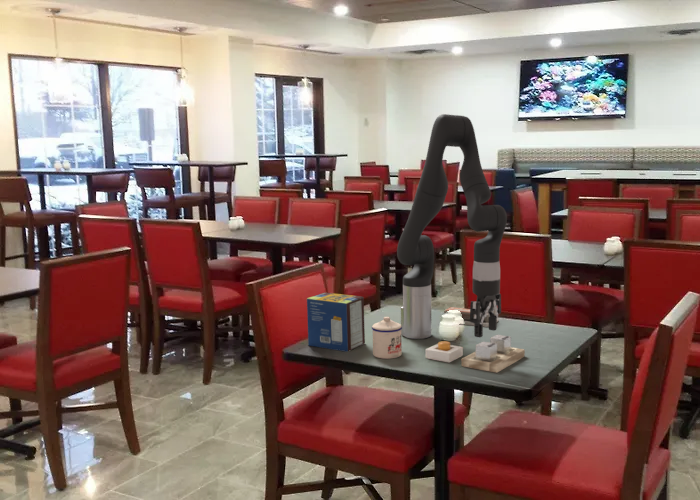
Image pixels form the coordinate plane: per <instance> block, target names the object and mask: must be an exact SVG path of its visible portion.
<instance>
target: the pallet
mask: <svg viewBox="0 0 700 500" xmlns="http://www.w3.org/2000/svg"><path fill="white" fill-rule="evenodd" d="M525 352H526V351H525V349H524V348H518V347H512V346H511V352H510V353H508V354H506V355H505V354H499V353H497V360H495V361H494V362H492V363H491V362H486V361H480V360H476V351H473V352H472V353H470V354H468V355H466V356H464V357H462V358H461V359H460V360H461V361H460V362H461V367H465V368H471V369H476V370H480V371H485V372H486V371H487V372H491V373H499V372H501V371H503V370H504V369H507V368H508V367H509V366H511V365H513V364H515V363H516V362H518V361H519V360H522V359H523V358H524V357H525V354H526V353H525Z"/></svg>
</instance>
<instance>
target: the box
mask: <svg viewBox="0 0 700 500" xmlns="http://www.w3.org/2000/svg"><path fill="white" fill-rule="evenodd" d="M424 350H425V352H424V353H425V359H429V360H434V361H438V362H439V361H440V362H444V363H451V362H453V361H455V360H457V359H459V358H461V357H463V355H464V353H463V351H464V347H463V346H460V345H459V346H458V345H455V344H454V345H453V344H450V350H448V351H443V350H438V343H436V344H434V345H432V346H430V347H427V348H425V349H424Z"/></svg>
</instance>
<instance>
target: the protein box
mask: <svg viewBox="0 0 700 500" xmlns="http://www.w3.org/2000/svg"><path fill="white" fill-rule="evenodd" d="M306 308H307V310H306V311H307V313H306V314H307V342H308V343H307V345H308V346H309V347H317V348H321V349H329V350H335V351H341V352H346V353H347V352H350V351H352V350H354V349H357V348H359V347H361V346H363V345H365V344H366V339H365V337H366V335H365V332H366V331H365V299H364V296H361V295H351V294H343V293H342V294H341V293H330V292H322V293H320V294H317V295H313V296H310V297H307V298H306Z"/></svg>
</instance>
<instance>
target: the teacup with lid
mask: <svg viewBox="0 0 700 500" xmlns="http://www.w3.org/2000/svg"><path fill="white" fill-rule="evenodd" d="M401 329H402V326H401V323H399V322H397V321H394V320H392V319H391V318H390V316H383V320H380V321H378V322H375V323H373V324H372V327H371V330H372V355H373V356H374V357H375V358H378V359H383V360H386V359H388V360H389V359H390V360H391V359H396V358H399V357H401V356H402V353H403V352H402V350H403V349H402V347H403V346H402V335H401Z"/></svg>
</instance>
